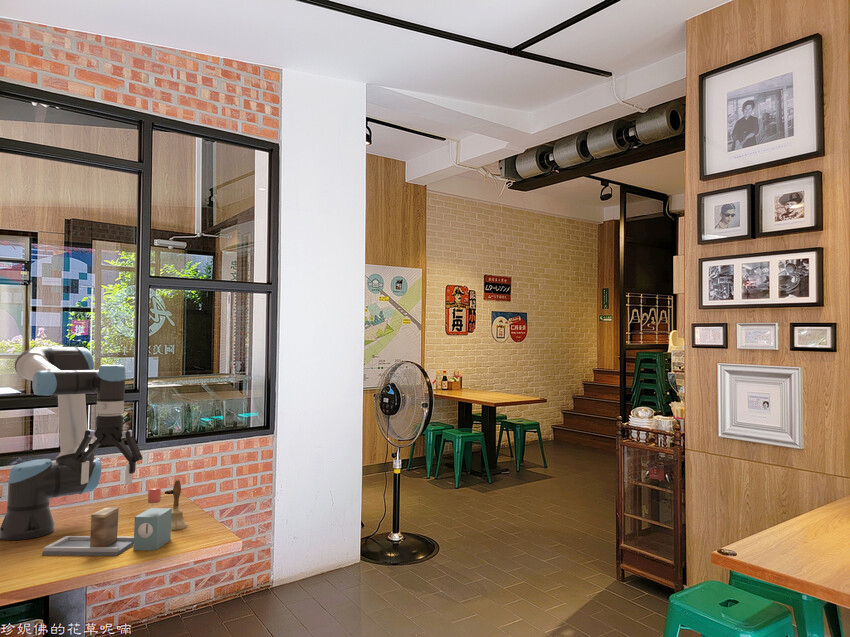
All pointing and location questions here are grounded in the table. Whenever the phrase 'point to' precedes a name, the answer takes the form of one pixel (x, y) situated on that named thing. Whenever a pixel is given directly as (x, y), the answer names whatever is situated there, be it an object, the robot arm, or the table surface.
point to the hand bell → (177, 509)
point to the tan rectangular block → (104, 527)
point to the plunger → (154, 495)
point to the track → (86, 547)
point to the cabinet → (152, 529)
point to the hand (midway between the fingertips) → (106, 483)
